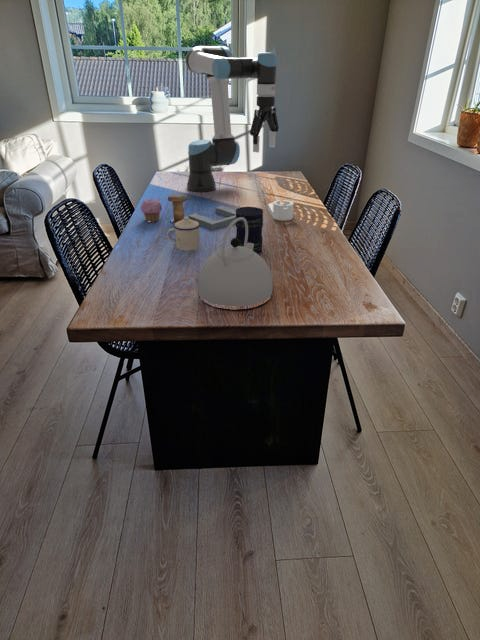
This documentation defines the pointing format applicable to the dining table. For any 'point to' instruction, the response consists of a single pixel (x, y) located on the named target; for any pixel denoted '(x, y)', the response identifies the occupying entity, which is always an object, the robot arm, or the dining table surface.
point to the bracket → (281, 210)
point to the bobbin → (177, 206)
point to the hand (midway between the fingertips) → (264, 149)
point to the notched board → (212, 223)
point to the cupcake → (151, 209)
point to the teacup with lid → (186, 234)
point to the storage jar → (250, 227)
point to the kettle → (235, 274)
